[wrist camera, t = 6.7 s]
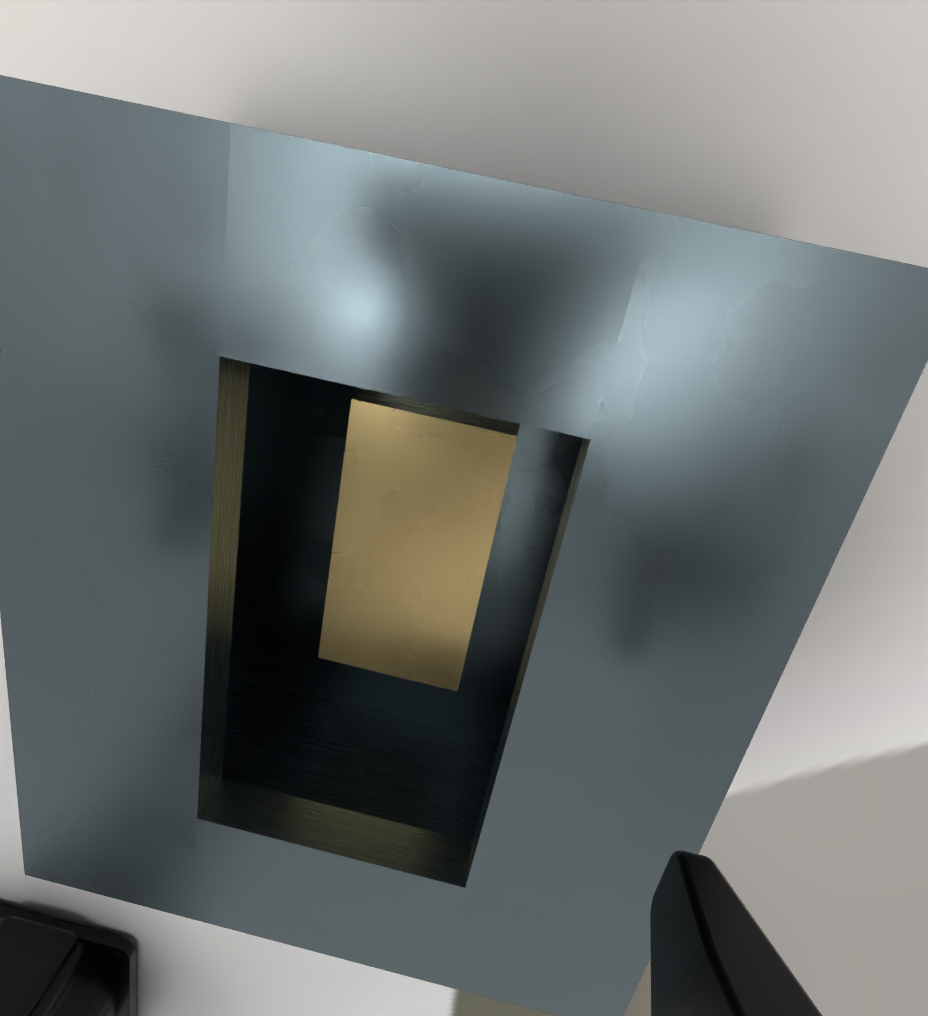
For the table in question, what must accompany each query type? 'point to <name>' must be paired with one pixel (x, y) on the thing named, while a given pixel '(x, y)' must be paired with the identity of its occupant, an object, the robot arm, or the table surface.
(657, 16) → the table surface
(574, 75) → the table surface
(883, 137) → the table surface
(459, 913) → the box
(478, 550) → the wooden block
